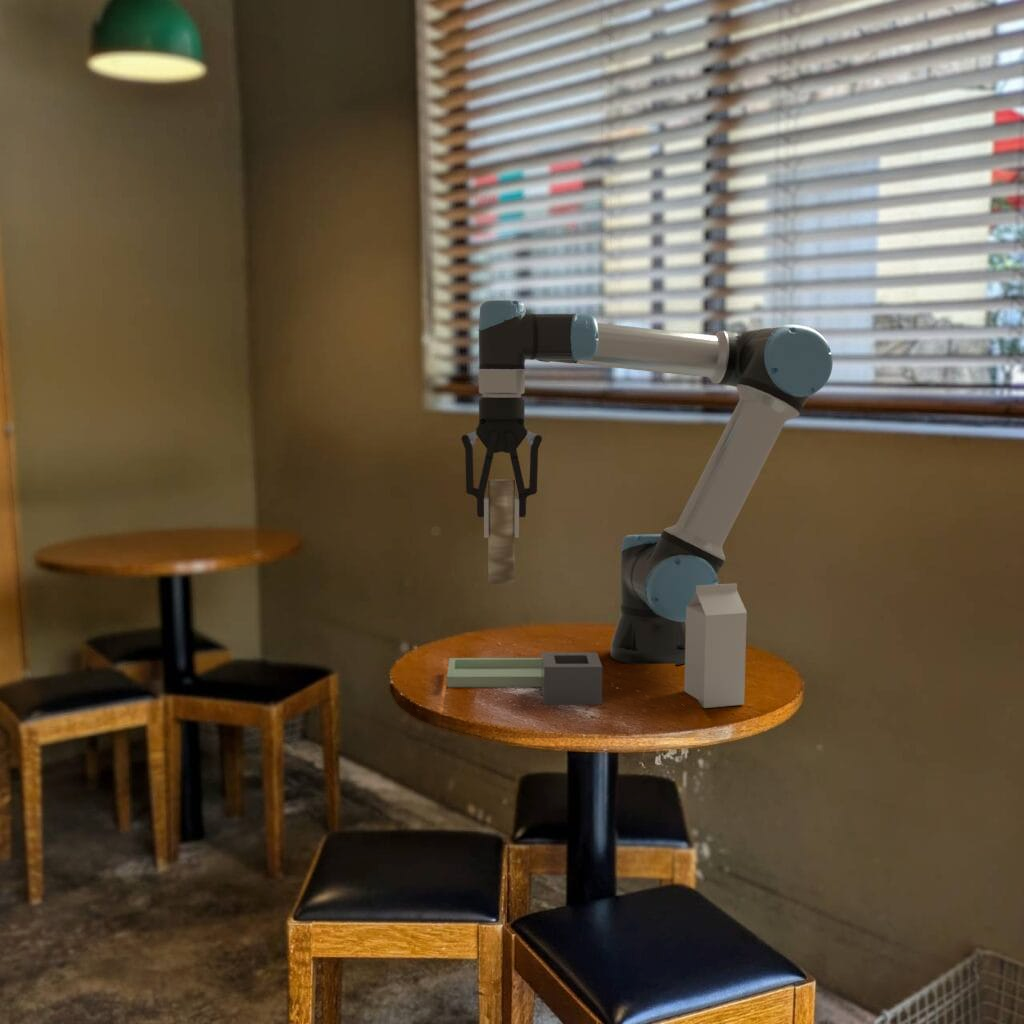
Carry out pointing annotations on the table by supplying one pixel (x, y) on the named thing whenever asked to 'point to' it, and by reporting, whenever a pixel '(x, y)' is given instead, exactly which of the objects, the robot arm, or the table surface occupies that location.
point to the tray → (494, 672)
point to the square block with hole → (571, 678)
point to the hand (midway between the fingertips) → (501, 536)
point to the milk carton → (715, 646)
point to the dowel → (501, 531)
